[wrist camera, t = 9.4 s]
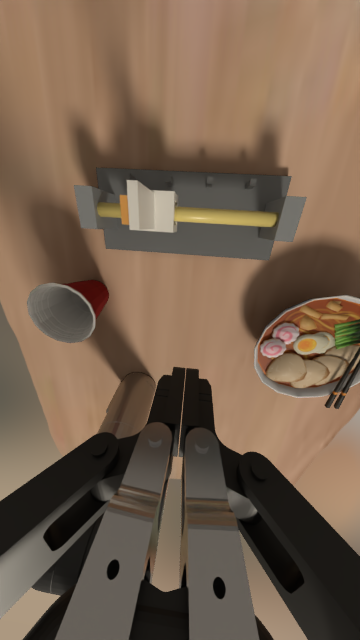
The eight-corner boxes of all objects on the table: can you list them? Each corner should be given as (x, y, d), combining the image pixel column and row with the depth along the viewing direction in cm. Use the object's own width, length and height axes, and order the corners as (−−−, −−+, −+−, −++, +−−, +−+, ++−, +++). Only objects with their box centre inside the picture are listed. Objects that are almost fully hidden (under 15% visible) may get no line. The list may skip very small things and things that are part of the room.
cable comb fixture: (288, 178, 28) (321, 159, 20) (266, 259, 33) (286, 268, 26) (99, 169, 30) (64, 149, 22) (108, 247, 35) (83, 253, 28)
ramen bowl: (258, 273, 35) (273, 285, 28) (387, 279, 33) (439, 294, 26) (235, 372, 46) (242, 399, 39) (330, 380, 45) (356, 410, 37)
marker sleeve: (178, 196, 26) (164, 177, 16) (176, 231, 29) (163, 234, 18) (138, 194, 27) (99, 174, 17) (139, 229, 29) (106, 230, 19)
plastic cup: (124, 316, 42) (98, 346, 31) (79, 313, 43) (39, 342, 32) (118, 268, 37) (85, 285, 26) (67, 266, 38) (16, 281, 27)
